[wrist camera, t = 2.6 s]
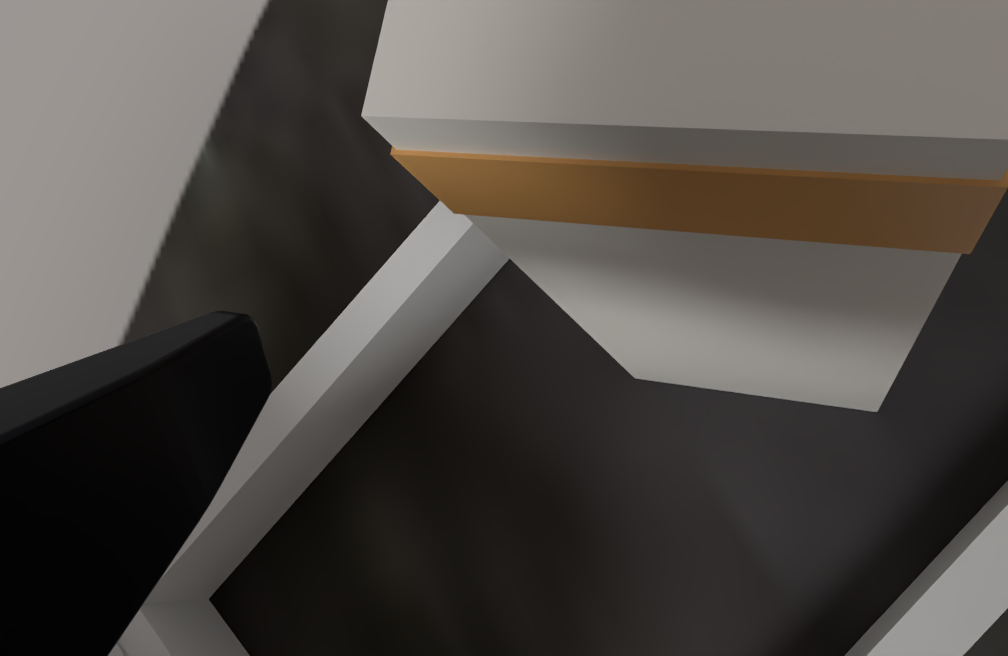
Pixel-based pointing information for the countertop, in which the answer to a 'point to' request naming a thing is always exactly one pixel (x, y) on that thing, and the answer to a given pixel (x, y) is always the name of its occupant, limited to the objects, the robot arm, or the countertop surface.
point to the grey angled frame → (367, 383)
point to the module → (714, 169)
